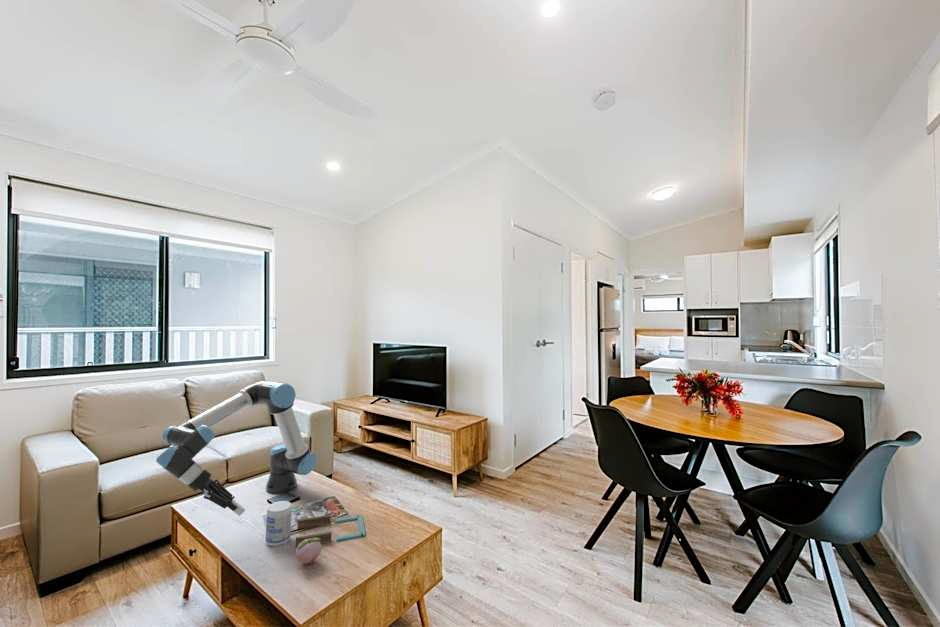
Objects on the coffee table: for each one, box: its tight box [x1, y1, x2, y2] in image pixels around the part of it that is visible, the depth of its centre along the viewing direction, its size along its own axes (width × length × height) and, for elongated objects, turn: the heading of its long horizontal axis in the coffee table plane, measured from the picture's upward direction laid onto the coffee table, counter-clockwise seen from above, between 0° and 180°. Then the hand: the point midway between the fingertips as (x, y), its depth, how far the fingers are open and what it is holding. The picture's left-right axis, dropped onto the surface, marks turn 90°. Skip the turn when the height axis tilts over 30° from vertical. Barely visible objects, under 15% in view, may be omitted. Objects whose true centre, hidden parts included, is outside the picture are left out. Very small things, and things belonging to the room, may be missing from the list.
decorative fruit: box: [295, 537, 322, 565], centre depth 151 cm, size 9×8×10 cm
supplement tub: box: [265, 500, 293, 547], centre depth 165 cm, size 10×10×15 cm
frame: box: [334, 514, 366, 542], centre depth 176 cm, size 17×12×1 cm
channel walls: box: [294, 514, 333, 549], centre depth 171 cm, size 16×14×4 cm
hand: (242, 512), depth 160 cm, fingers closed
